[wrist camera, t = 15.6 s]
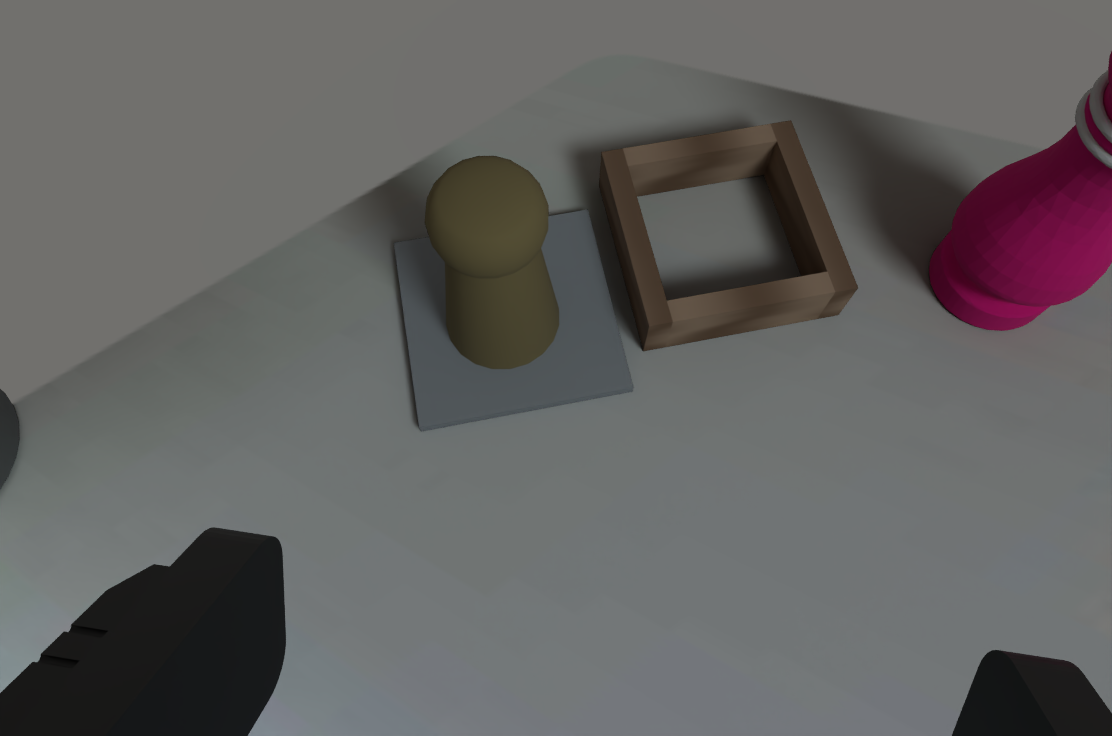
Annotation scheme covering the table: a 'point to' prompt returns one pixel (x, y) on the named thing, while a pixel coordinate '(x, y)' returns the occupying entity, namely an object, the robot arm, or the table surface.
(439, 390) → the rubber mat
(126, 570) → the table surface
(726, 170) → the walnut collar
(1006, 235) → the pepper mill
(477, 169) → the cork
